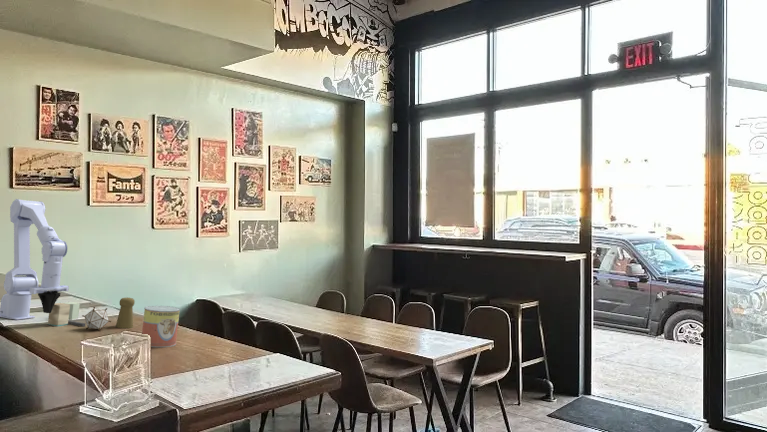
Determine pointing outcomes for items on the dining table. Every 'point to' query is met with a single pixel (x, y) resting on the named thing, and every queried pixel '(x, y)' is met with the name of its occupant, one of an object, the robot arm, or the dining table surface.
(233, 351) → the dining table surface
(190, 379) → the dining table surface
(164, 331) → the canned food
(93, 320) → the game die
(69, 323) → the rubber trip strip
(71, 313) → the sage block
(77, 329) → the dining table surface
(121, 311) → the cork
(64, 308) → the birch block
